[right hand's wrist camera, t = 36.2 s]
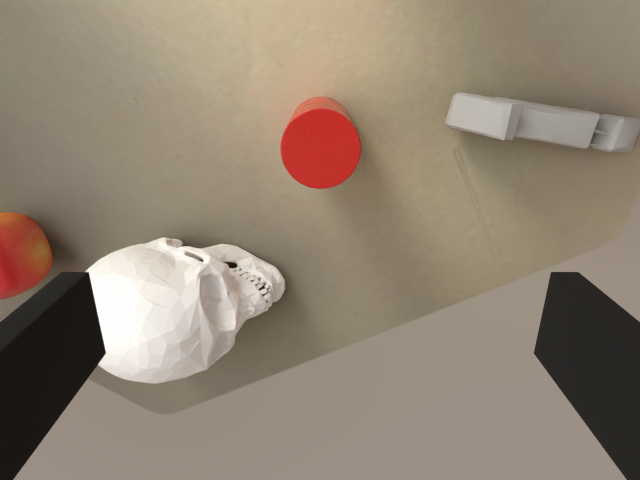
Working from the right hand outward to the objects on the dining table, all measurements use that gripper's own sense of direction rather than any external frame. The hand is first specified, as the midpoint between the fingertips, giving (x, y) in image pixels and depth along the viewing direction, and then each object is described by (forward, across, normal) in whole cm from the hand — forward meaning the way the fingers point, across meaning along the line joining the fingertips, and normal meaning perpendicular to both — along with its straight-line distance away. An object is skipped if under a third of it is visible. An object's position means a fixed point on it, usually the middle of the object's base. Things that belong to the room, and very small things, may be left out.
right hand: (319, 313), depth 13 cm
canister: (+38, 0, 0) cm, 38 cm away
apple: (+38, -35, -13) cm, 53 cm away
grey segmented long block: (+38, +23, +1) cm, 45 cm away
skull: (+38, -15, -18) cm, 45 cm away
